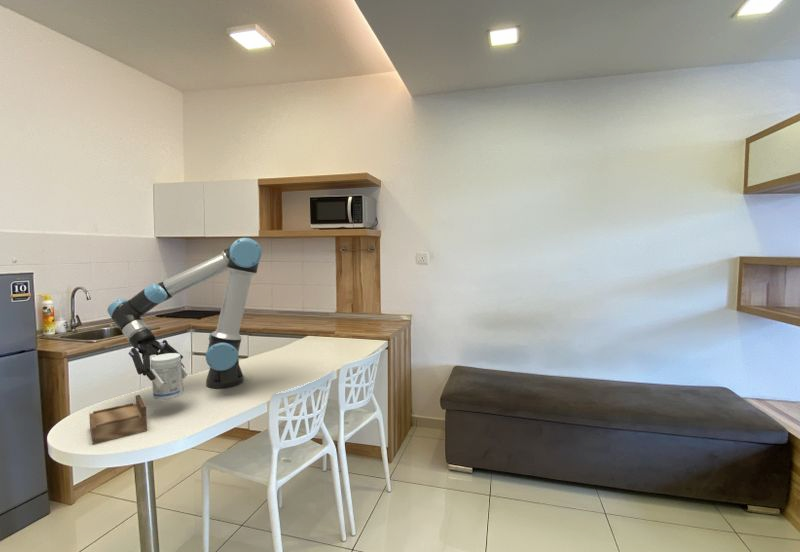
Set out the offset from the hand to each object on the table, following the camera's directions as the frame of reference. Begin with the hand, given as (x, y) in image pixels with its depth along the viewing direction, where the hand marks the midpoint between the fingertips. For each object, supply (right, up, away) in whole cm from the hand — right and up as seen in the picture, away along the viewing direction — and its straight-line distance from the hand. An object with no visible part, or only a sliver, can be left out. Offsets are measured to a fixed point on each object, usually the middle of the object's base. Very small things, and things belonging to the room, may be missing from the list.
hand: (173, 380), depth 142 cm
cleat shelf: (-11, -12, -13) cm, 21 cm away
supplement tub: (-3, -6, +1) cm, 7 cm away
